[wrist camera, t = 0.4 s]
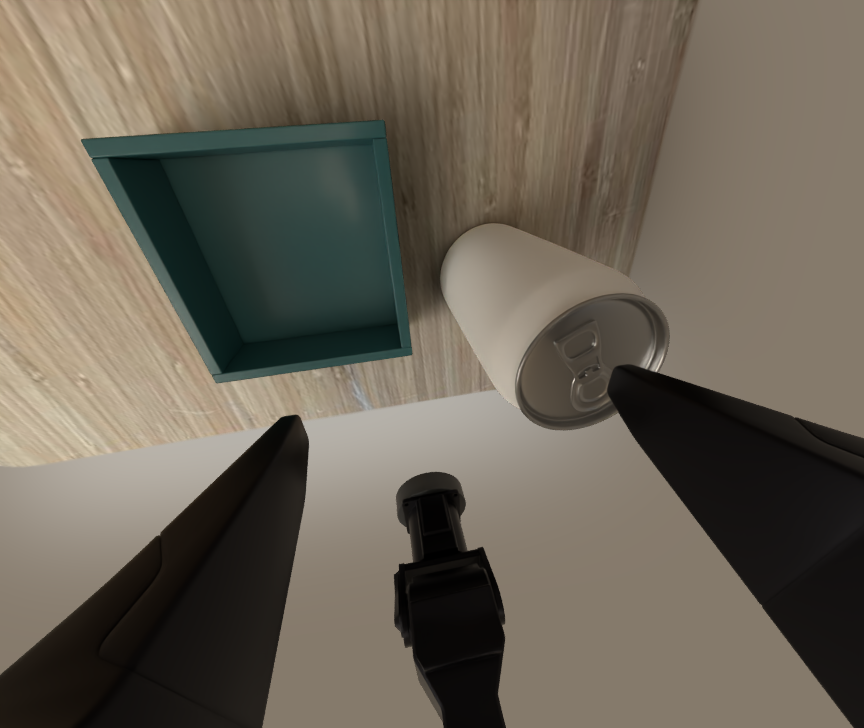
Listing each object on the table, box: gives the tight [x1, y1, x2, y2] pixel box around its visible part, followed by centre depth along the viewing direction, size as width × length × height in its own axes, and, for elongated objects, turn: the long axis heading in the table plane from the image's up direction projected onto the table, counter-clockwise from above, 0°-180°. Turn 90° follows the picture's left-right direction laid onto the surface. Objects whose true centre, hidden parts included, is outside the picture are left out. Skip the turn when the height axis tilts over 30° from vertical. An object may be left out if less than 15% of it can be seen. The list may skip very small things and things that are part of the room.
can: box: [440, 223, 670, 430], centre depth 16 cm, size 6×6×12 cm
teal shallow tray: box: [81, 120, 412, 383], centre depth 17 cm, size 11×11×4 cm
